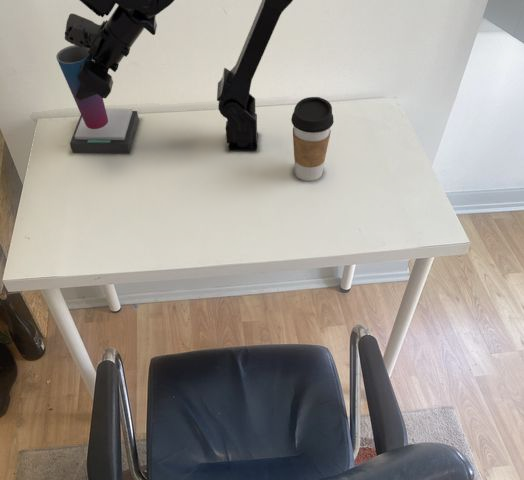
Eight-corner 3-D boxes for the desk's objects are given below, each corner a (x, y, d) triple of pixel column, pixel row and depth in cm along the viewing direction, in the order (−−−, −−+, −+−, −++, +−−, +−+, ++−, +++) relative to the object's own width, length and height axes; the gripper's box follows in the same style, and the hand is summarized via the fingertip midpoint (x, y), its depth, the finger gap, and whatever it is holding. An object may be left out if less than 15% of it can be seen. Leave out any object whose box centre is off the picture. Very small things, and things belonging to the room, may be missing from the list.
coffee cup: (332, 164, 119) (339, 100, 107) (321, 188, 114) (328, 123, 102) (295, 157, 121) (298, 92, 108) (284, 180, 116) (286, 115, 104)
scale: (139, 120, 129) (136, 107, 127) (129, 153, 122) (126, 141, 119) (85, 119, 130) (81, 107, 127) (72, 152, 122) (68, 140, 120)
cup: (117, 123, 118) (96, 54, 106) (89, 135, 116) (64, 67, 104) (104, 109, 122) (81, 41, 109) (76, 121, 120) (50, 53, 107)
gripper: (90, -21, 104) (52, 40, 113) (73, 25, 94) (33, 89, 103) (139, 21, 111) (100, 76, 120) (128, 69, 100) (86, 125, 109)
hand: (80, 89), depth 113 cm, fingers closed on cup, 6 cm apart
